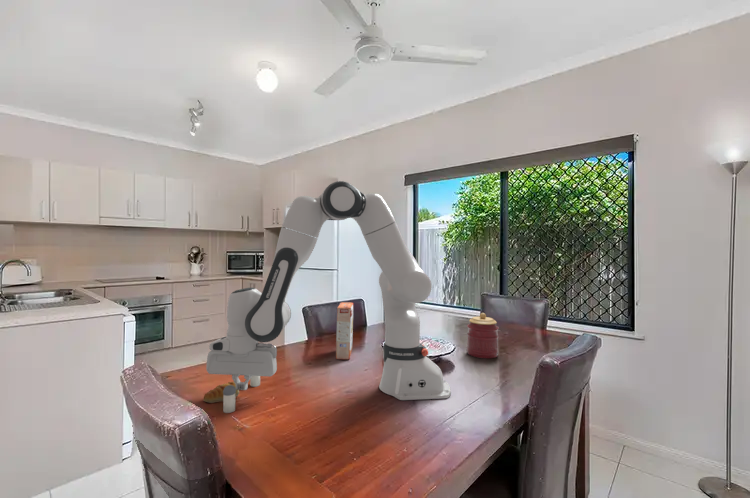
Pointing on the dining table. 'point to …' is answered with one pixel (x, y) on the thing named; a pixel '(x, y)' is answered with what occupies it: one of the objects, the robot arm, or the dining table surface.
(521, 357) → the dining table surface
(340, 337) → the cracker box
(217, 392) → the pastry
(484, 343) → the canister
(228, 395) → the posts
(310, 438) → the dining table surface
